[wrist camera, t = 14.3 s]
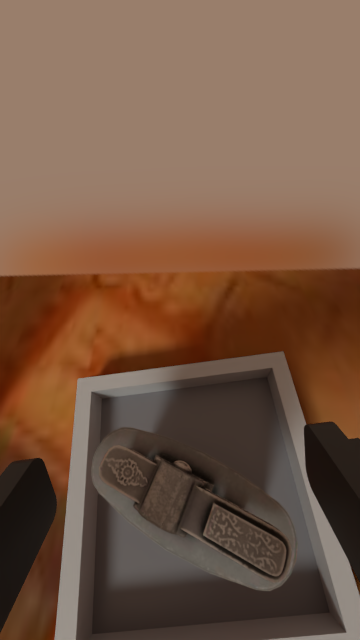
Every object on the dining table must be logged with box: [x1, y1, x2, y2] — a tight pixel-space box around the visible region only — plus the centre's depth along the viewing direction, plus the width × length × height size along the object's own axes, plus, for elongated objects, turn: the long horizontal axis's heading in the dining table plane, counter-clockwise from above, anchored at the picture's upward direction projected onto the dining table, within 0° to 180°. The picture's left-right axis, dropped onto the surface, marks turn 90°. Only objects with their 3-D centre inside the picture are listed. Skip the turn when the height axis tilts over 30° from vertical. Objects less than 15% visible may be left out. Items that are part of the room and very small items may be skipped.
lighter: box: [91, 427, 298, 591], centre depth 12 cm, size 8×3×10 cm, turn 65°
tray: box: [55, 351, 360, 640], centre depth 16 cm, size 15×15×2 cm
